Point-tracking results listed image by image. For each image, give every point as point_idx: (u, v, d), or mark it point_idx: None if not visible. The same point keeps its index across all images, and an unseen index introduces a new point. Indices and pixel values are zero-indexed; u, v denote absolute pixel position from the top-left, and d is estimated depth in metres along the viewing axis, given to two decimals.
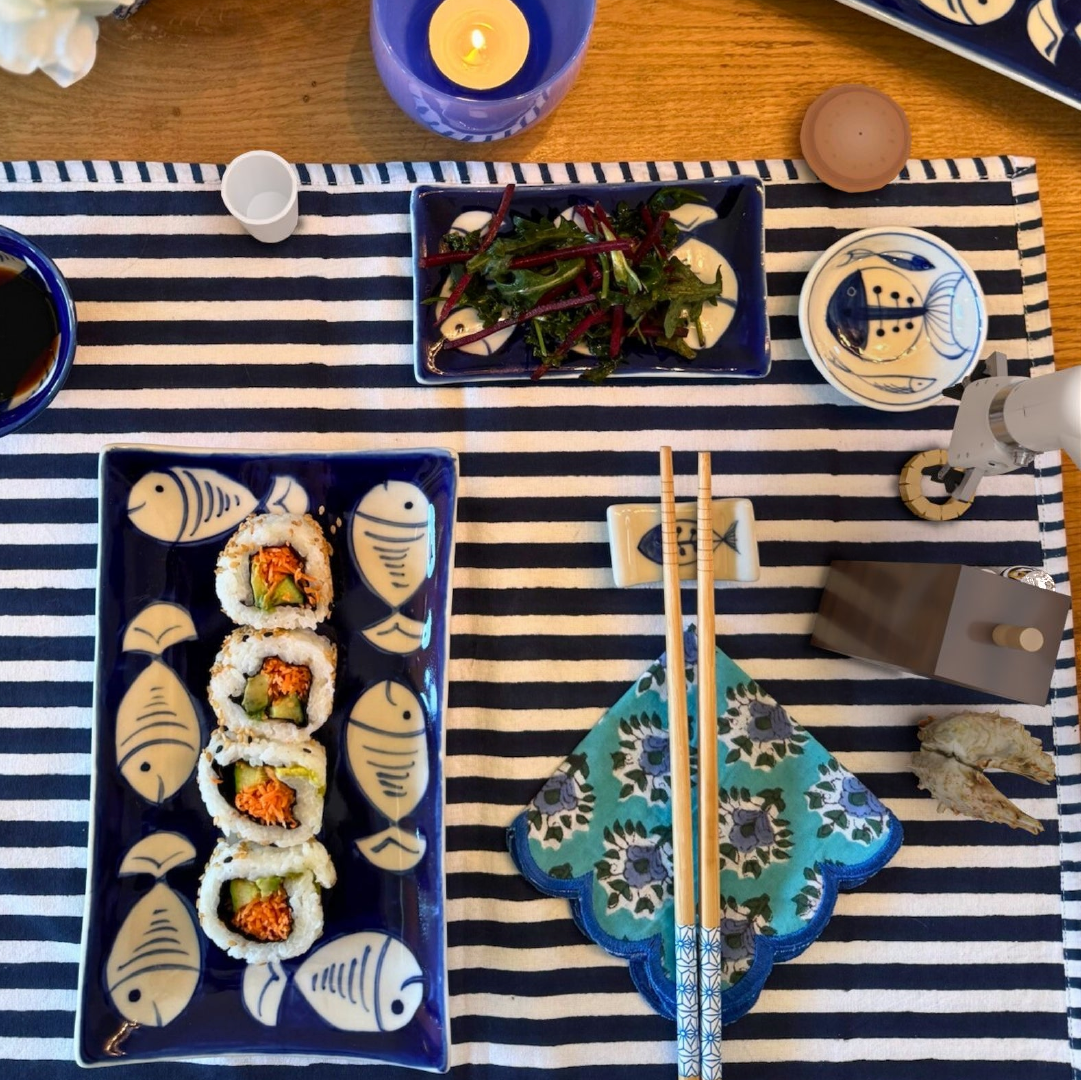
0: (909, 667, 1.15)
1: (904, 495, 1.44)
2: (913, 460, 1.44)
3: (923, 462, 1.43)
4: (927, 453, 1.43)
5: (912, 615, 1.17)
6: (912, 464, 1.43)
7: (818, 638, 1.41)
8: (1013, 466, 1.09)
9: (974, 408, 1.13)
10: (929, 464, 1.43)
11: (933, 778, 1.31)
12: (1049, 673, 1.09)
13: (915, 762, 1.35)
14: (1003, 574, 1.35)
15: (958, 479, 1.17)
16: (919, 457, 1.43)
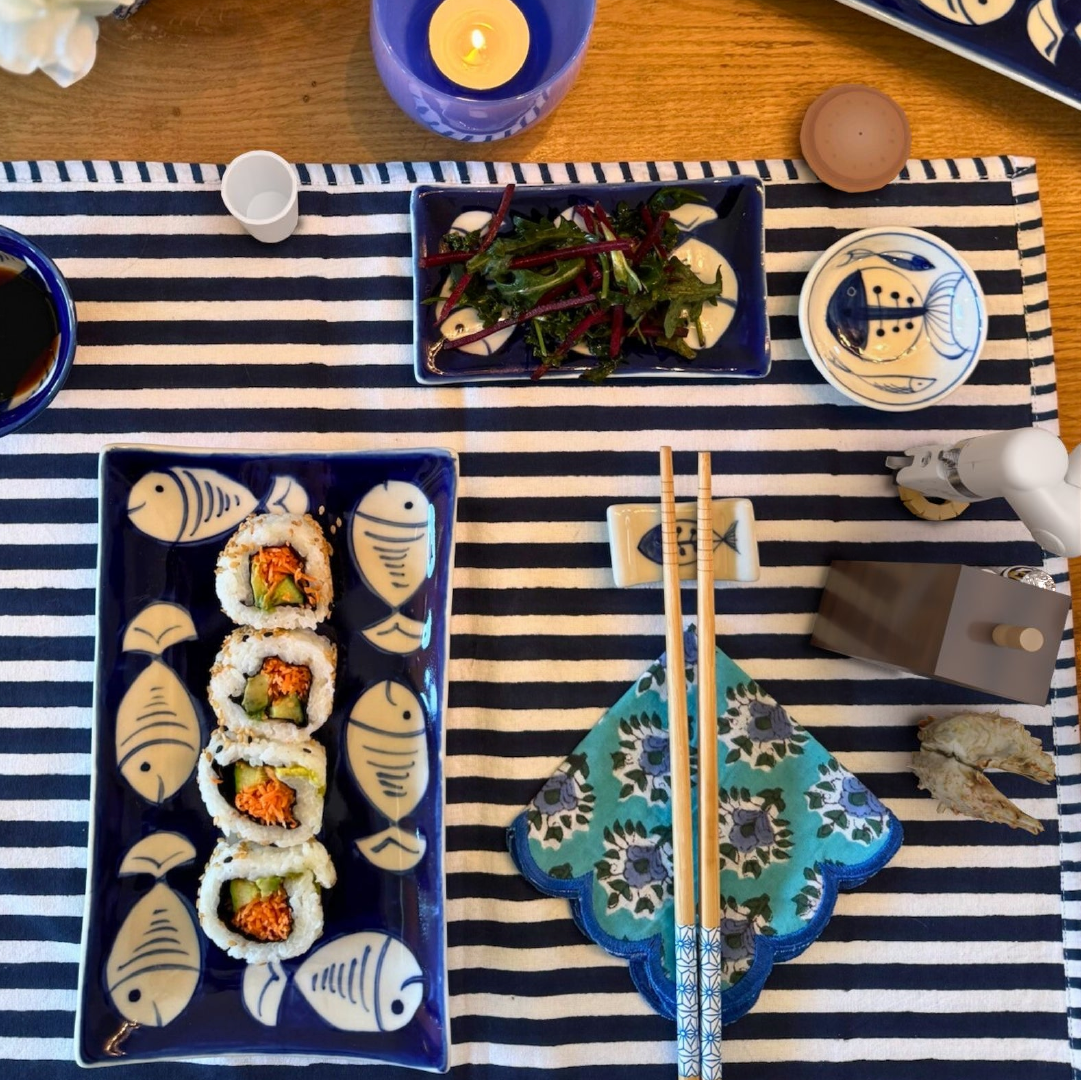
0: (909, 667, 1.15)
1: (903, 495, 1.44)
2: None
3: None
4: None
5: (912, 615, 1.17)
6: None
7: (818, 638, 1.41)
8: (928, 467, 1.29)
9: None
10: None
11: (933, 778, 1.31)
12: (1049, 673, 1.09)
13: (915, 762, 1.35)
14: (1003, 574, 1.35)
15: None
16: None
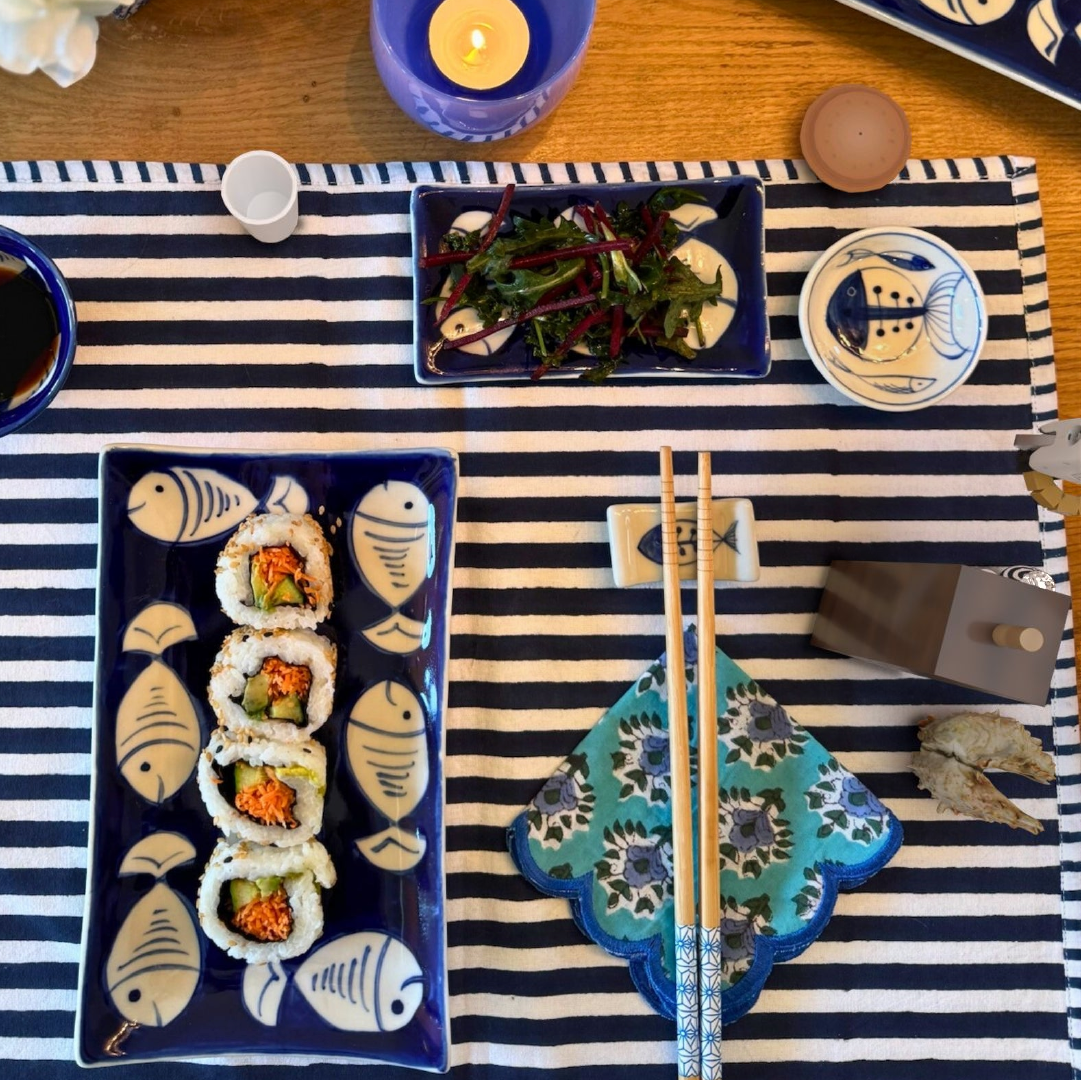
0: (909, 667, 1.15)
1: (1031, 484, 1.15)
2: None
3: None
4: None
5: (912, 615, 1.17)
6: None
7: (818, 638, 1.41)
8: (1079, 445, 1.00)
9: None
10: None
11: (933, 778, 1.31)
12: (1049, 673, 1.09)
13: (915, 762, 1.35)
14: (1003, 574, 1.35)
15: None
16: None
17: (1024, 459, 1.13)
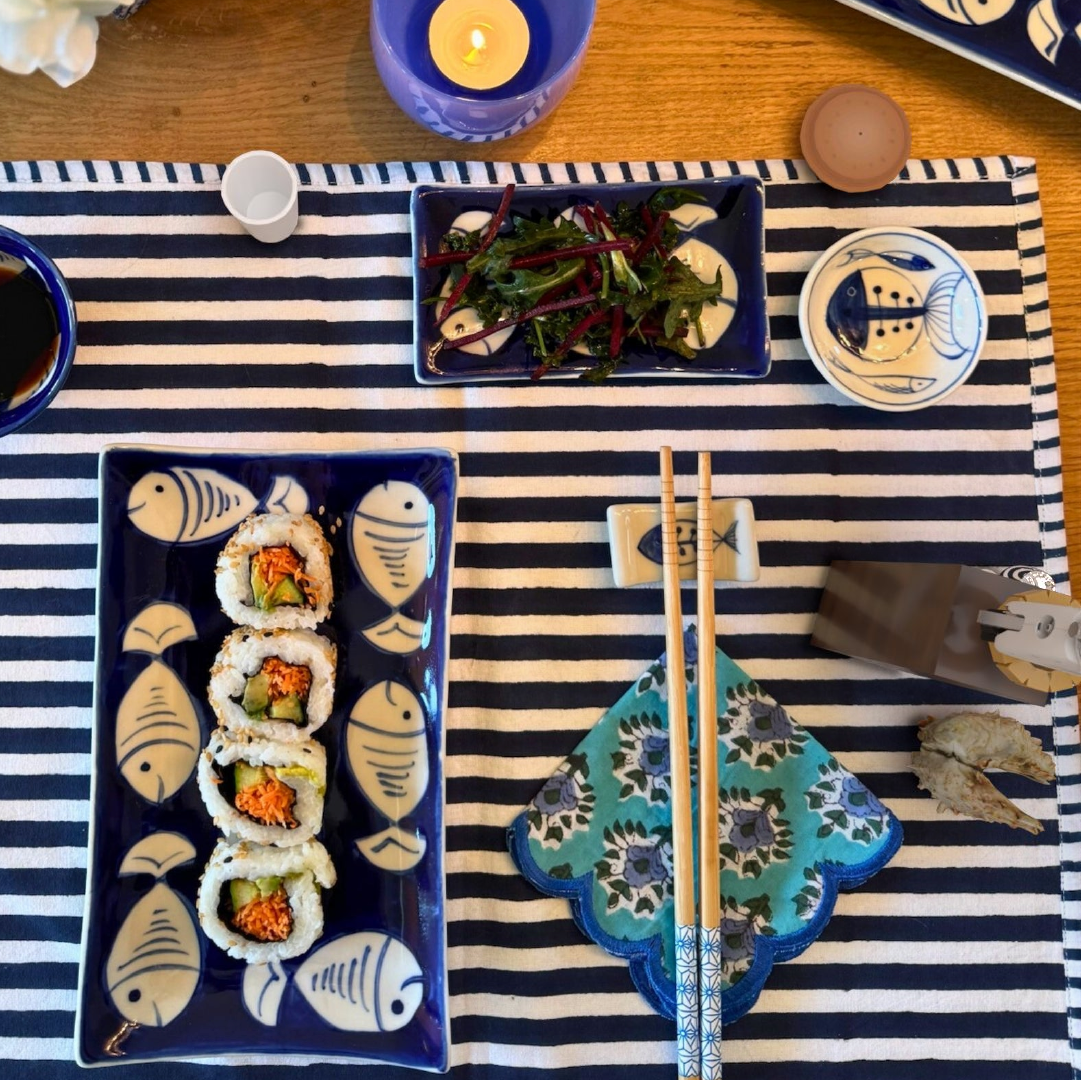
0: (909, 667, 1.15)
1: (997, 655, 1.02)
2: None
3: None
4: (1029, 596, 1.01)
5: (912, 615, 1.17)
6: None
7: (818, 638, 1.41)
8: (1050, 641, 0.88)
9: None
10: None
11: (933, 778, 1.31)
12: None
13: (915, 762, 1.35)
14: (1003, 574, 1.35)
15: None
16: None
17: (989, 630, 1.01)
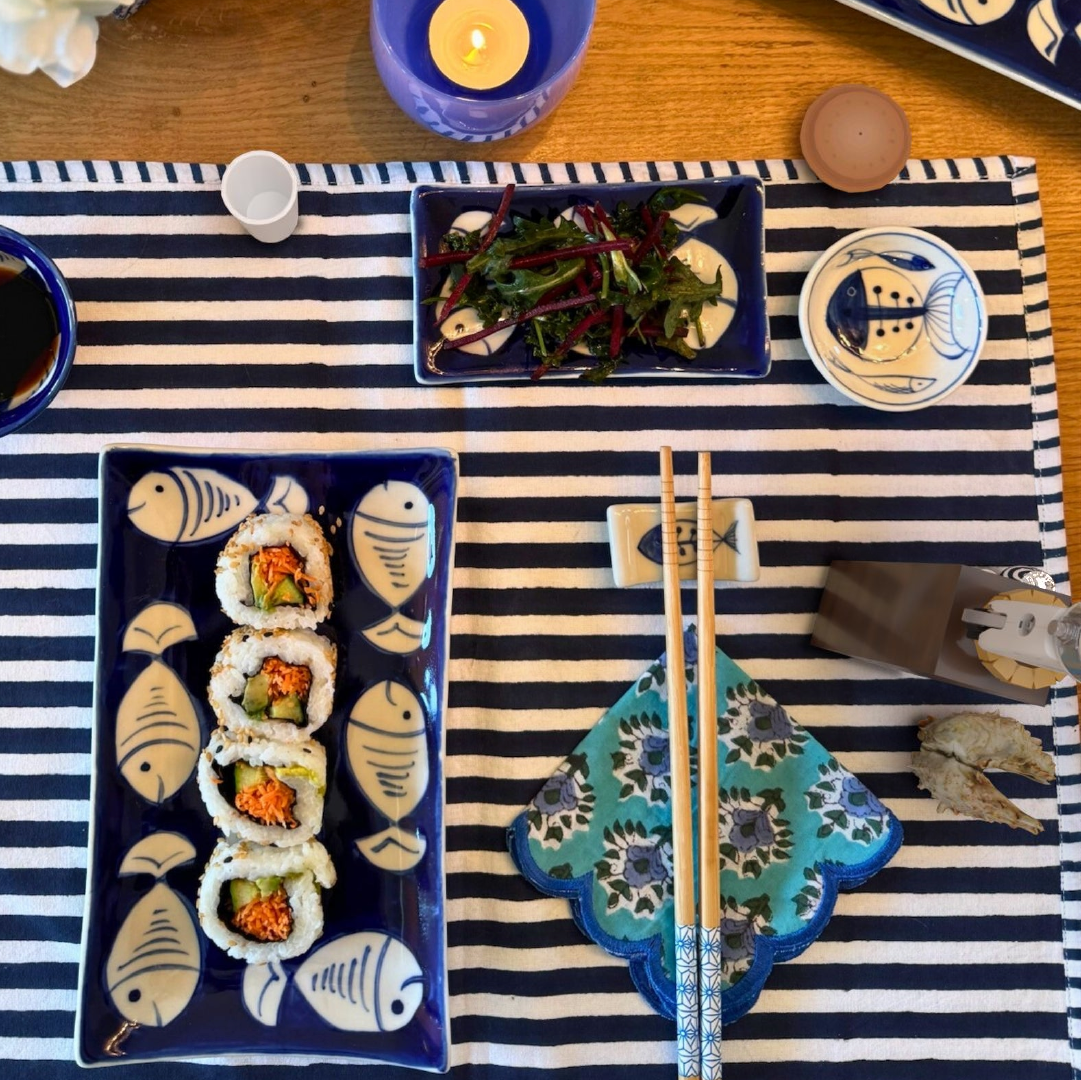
0: (909, 667, 1.15)
1: (982, 653, 1.05)
2: None
3: None
4: (1013, 595, 1.04)
5: (912, 615, 1.17)
6: None
7: (818, 638, 1.41)
8: (1030, 639, 0.90)
9: None
10: None
11: (933, 778, 1.31)
12: None
13: (915, 762, 1.35)
14: (1003, 574, 1.35)
15: (994, 627, 1.00)
16: None
17: (975, 628, 1.03)
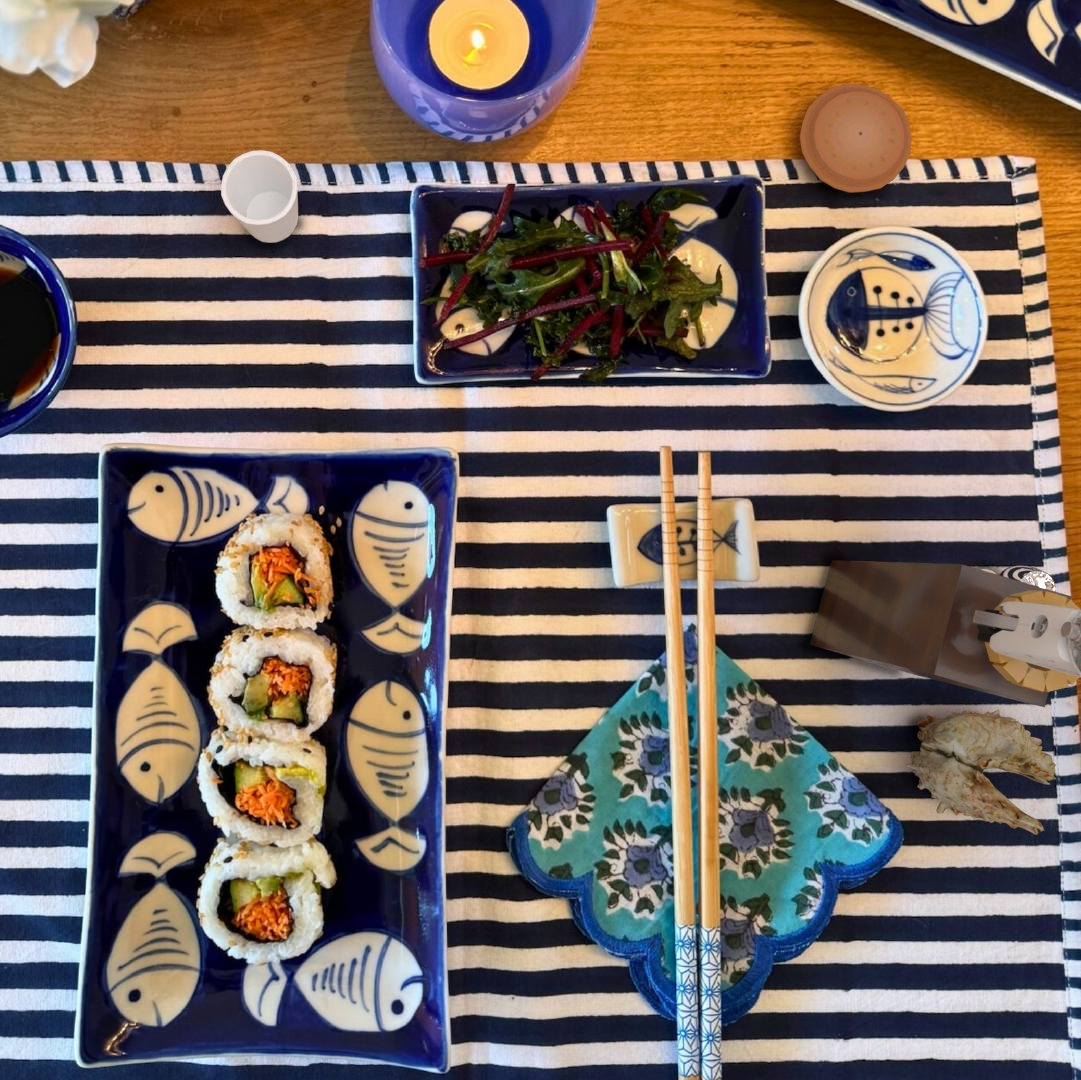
0: (909, 667, 1.15)
1: (993, 655, 1.03)
2: None
3: None
4: (1025, 597, 1.03)
5: (912, 615, 1.17)
6: None
7: (818, 638, 1.41)
8: (1043, 641, 0.89)
9: None
10: None
11: (933, 778, 1.31)
12: None
13: (915, 762, 1.35)
14: (1003, 574, 1.35)
15: None
16: None
17: (986, 630, 1.02)
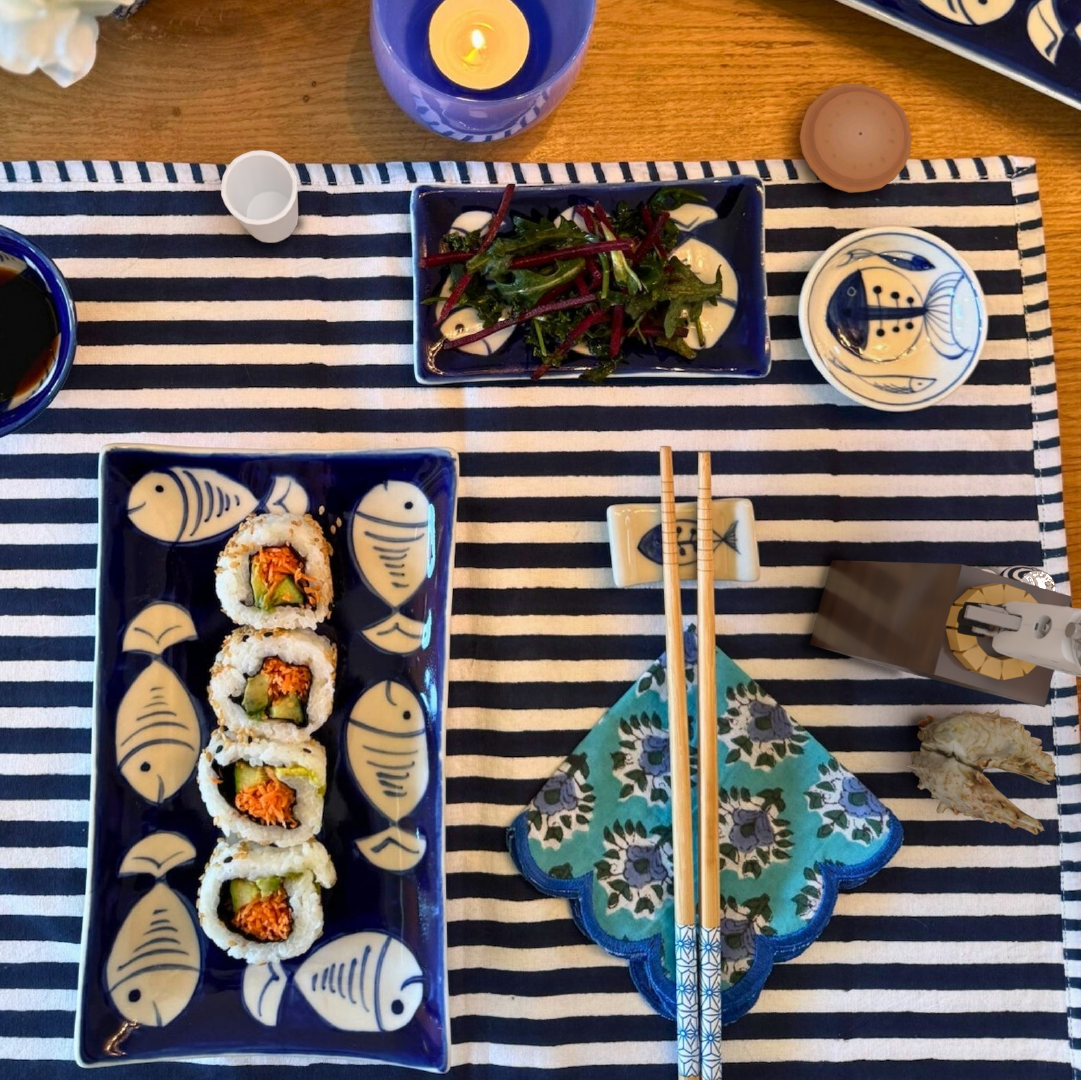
0: (909, 667, 1.15)
1: (953, 643, 1.08)
2: (967, 597, 1.08)
3: (980, 601, 1.08)
4: (985, 589, 1.08)
5: (912, 615, 1.17)
6: None
7: (818, 638, 1.41)
8: (1047, 641, 0.88)
9: None
10: None
11: (933, 778, 1.31)
12: (1049, 673, 1.09)
13: (915, 762, 1.35)
14: (1003, 574, 1.35)
15: None
16: (975, 594, 1.08)
17: (965, 623, 1.00)
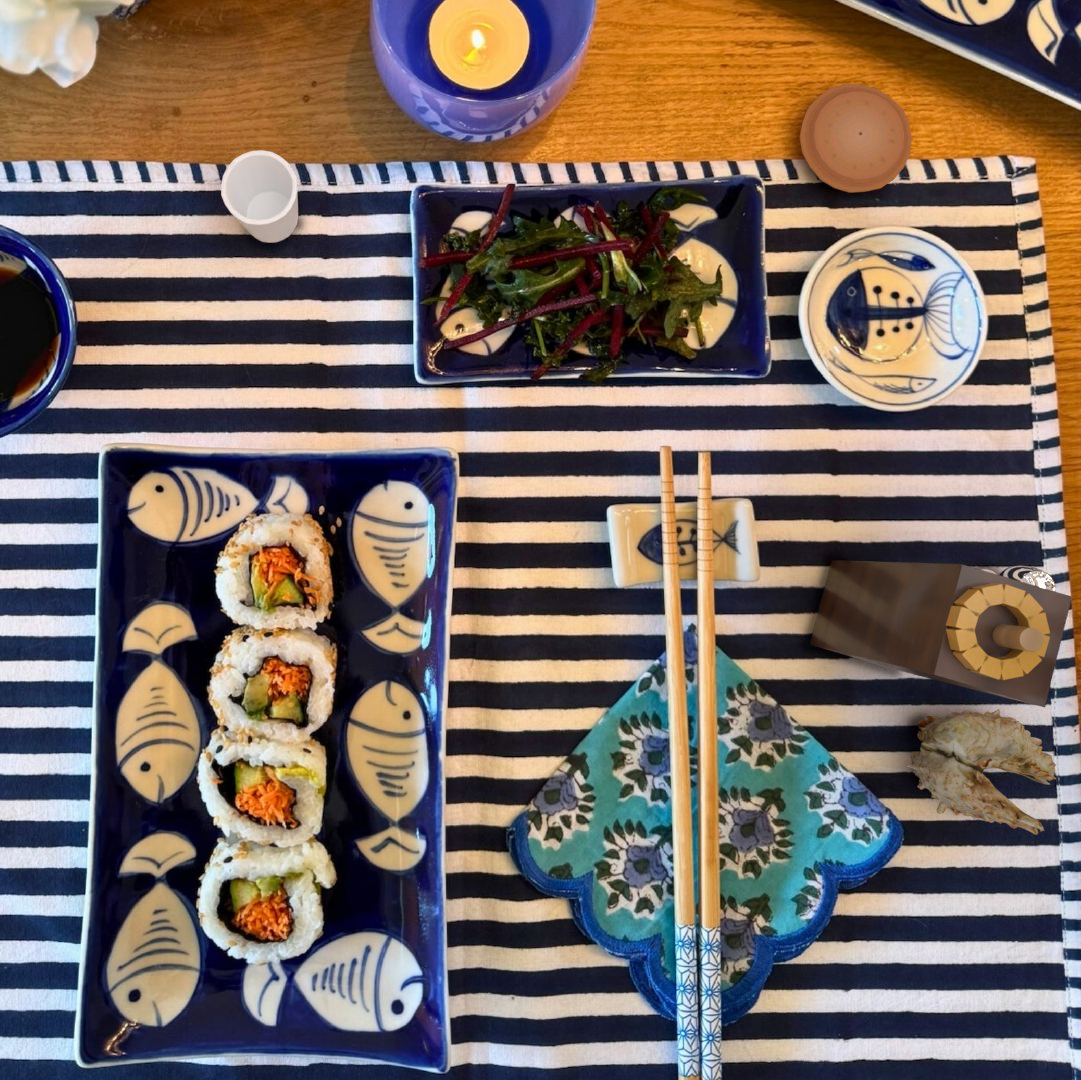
0: (909, 667, 1.15)
1: (953, 643, 1.08)
2: (967, 597, 1.08)
3: (980, 601, 1.08)
4: (985, 589, 1.08)
5: (912, 615, 1.17)
6: (965, 603, 1.08)
7: (818, 638, 1.41)
8: None
9: None
10: (988, 604, 1.08)
11: (933, 778, 1.31)
12: (1049, 673, 1.09)
13: (915, 762, 1.35)
14: (1003, 574, 1.35)
15: None
16: (975, 594, 1.08)
17: None
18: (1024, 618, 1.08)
